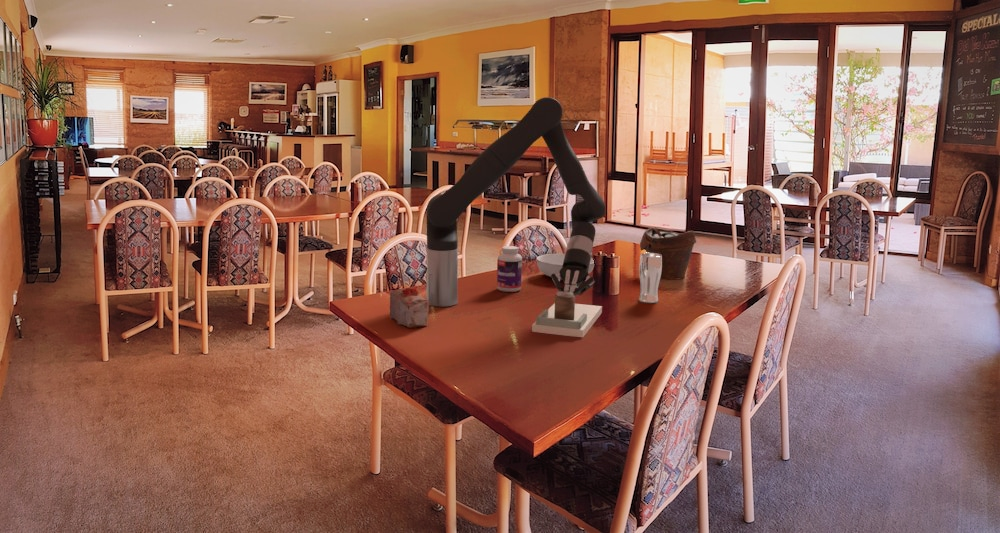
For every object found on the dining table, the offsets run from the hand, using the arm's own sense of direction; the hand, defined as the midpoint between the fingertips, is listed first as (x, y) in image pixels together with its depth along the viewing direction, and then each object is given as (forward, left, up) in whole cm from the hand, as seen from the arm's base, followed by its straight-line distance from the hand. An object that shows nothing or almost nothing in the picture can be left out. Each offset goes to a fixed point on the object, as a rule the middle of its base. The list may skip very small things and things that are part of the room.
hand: (566, 305), depth 203 cm
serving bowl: (+16, +57, -6) cm, 60 cm away
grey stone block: (-43, +8, -6) cm, 44 cm away
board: (+1, +2, -5) cm, 6 cm away
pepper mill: (-2, -5, -3) cm, 6 cm away
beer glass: (+33, +21, -6) cm, 40 cm away
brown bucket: (+54, +55, -6) cm, 78 cm away
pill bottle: (-8, +41, -6) cm, 42 cm away
